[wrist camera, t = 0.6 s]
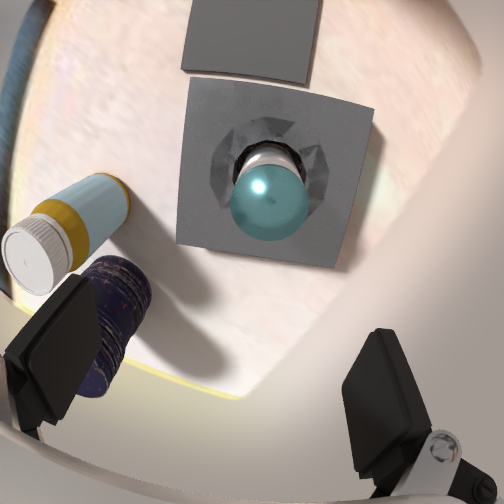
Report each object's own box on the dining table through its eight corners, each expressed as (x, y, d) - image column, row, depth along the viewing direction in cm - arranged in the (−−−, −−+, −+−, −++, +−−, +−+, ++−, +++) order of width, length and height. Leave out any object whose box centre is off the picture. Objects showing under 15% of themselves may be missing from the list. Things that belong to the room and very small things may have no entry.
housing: (200, 80, 26) (190, 76, 23) (361, 107, 26) (374, 108, 23) (185, 227, 34) (175, 243, 30) (327, 250, 34) (334, 268, 30)
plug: (248, 139, 29) (235, 161, 18) (298, 147, 29) (316, 174, 18) (241, 187, 31) (225, 234, 20) (289, 194, 31) (299, 246, 21)
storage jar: (120, 325, 41) (79, 403, 28) (75, 275, 38) (17, 345, 24) (167, 299, 38) (127, 389, 25) (117, 240, 35) (51, 316, 21)
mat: (201, -31, 20) (200, -33, 20) (321, -18, 20) (321, -20, 20) (182, 69, 26) (180, 69, 25) (304, 84, 26) (305, 83, 25)
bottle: (142, 195, 32) (68, 261, 19) (115, 238, 35) (47, 314, 21) (97, 159, 30) (6, 205, 17) (74, 205, 33) (-6, 264, 19)
